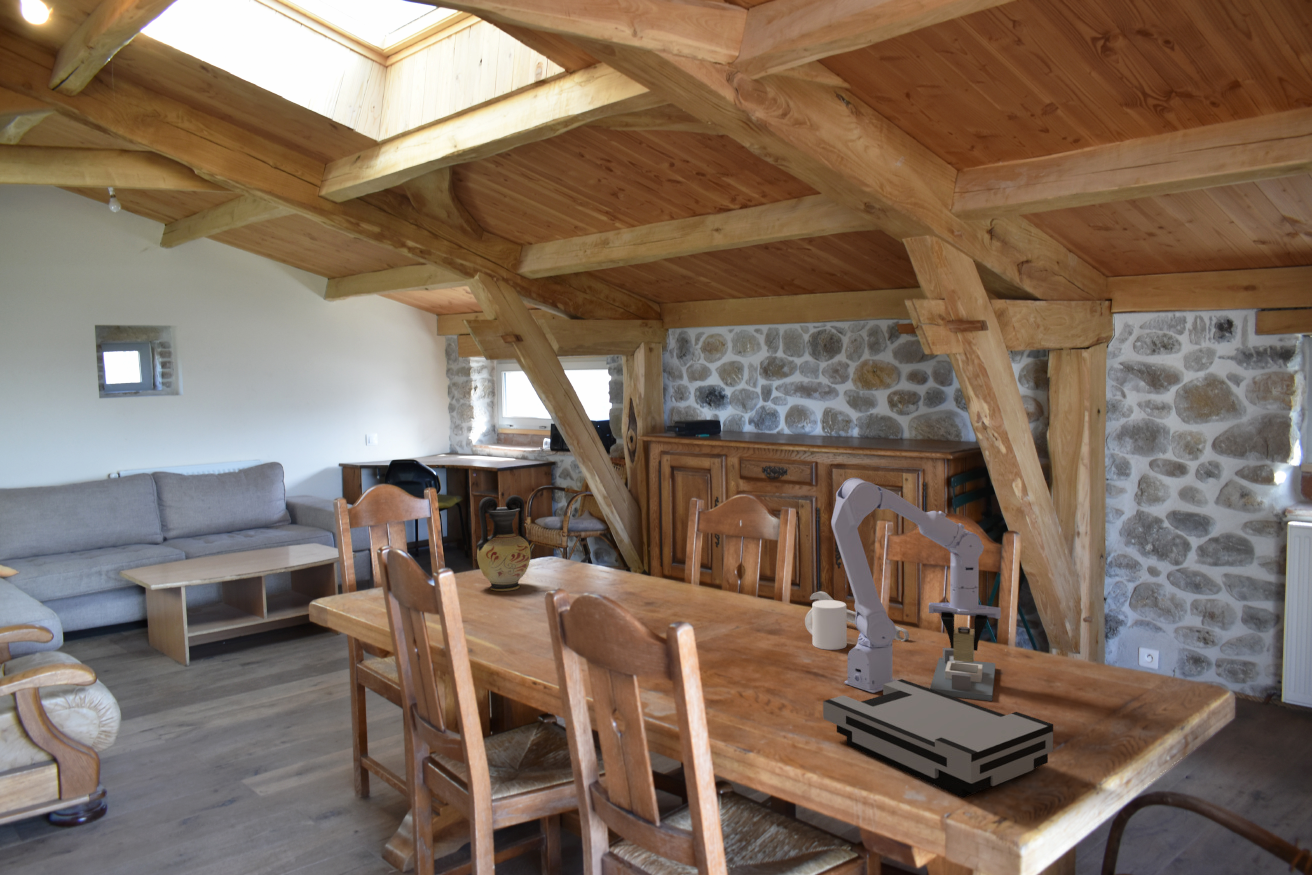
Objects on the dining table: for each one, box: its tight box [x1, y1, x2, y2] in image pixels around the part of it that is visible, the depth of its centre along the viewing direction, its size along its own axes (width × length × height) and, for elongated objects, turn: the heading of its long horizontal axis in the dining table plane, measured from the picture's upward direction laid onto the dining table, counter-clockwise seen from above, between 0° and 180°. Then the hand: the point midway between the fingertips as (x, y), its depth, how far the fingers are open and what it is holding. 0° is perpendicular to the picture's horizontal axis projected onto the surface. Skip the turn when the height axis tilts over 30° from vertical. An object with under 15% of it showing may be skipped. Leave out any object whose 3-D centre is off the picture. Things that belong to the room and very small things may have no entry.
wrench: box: [809, 590, 910, 642], centre depth 230 cm, size 8×2×30 cm
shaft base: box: [929, 647, 996, 702], centre depth 189 cm, size 22×12×4 cm, turn 157°
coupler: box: [954, 626, 975, 662], centre depth 188 cm, size 4×4×7 cm
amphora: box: [476, 494, 531, 592], centre depth 284 cm, size 18×17×30 cm
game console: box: [822, 678, 1054, 799], centre depth 152 cm, size 21×32×8 cm, turn 33°
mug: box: [804, 599, 848, 651], centre depth 218 cm, size 8×10×12 cm
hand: (964, 648), depth 189 cm, fingers closed on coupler, 4 cm apart
